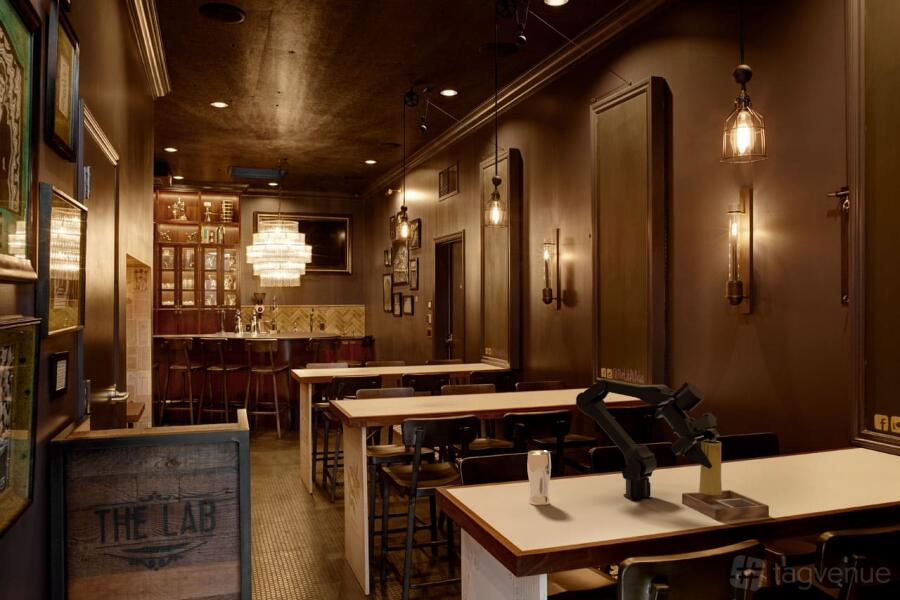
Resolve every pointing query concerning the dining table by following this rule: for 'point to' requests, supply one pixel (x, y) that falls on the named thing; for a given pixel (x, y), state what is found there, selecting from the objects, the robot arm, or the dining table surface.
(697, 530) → the dining table surface
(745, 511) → the tray
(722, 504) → the holder plate
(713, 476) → the vase
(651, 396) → the robot arm
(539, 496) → the beer glass
